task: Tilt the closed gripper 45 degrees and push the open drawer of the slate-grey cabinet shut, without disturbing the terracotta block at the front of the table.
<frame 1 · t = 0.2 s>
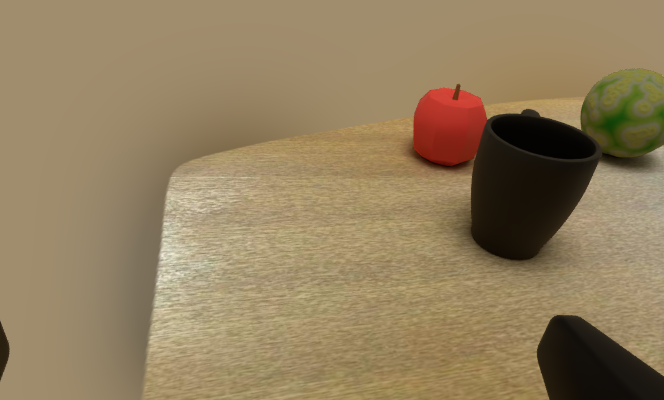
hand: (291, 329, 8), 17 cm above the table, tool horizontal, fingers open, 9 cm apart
decorative ball: (610, 154, 58), on the table
apple: (440, 157, 52), on the table
mug: (504, 228, 42), on the table
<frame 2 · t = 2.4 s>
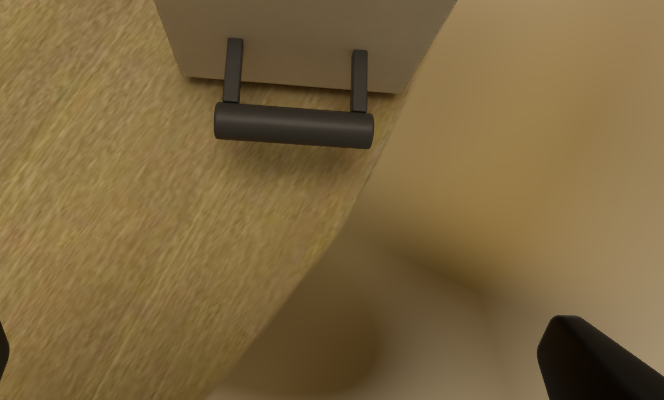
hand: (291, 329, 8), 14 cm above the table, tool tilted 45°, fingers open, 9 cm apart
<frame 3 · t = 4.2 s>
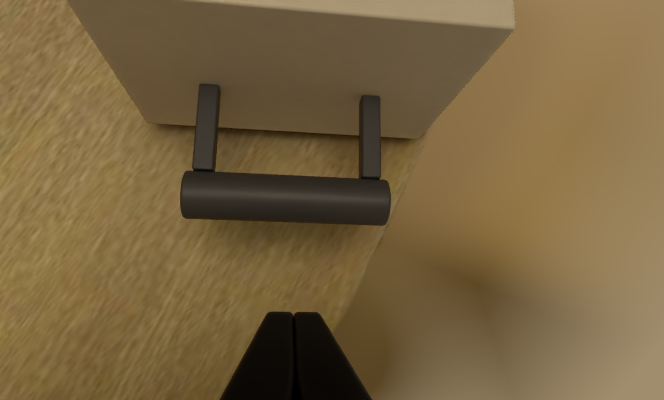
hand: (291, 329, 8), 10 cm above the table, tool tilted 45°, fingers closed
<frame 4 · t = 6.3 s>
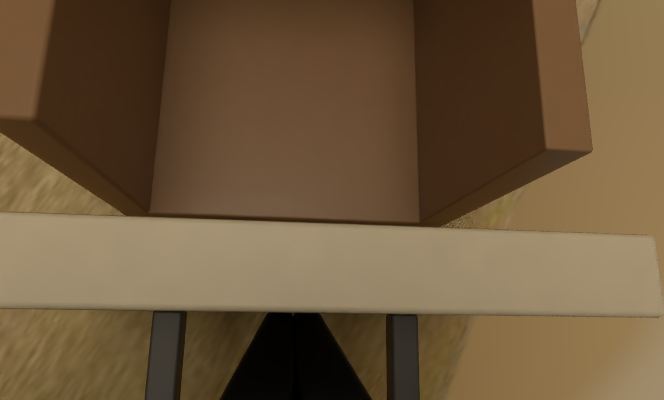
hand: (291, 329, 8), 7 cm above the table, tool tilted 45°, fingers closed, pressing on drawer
drawer: (299, 24, 11), point 5 cm above the table, slide at 7.9 cm, touching gripper
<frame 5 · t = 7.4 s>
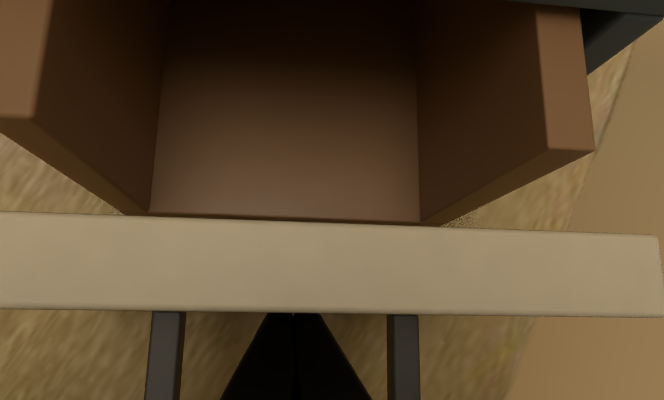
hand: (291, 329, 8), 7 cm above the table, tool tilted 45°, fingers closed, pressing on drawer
drawer: (299, 22, 11), point 5 cm above the table, slide at 3.5 cm, touching gripper
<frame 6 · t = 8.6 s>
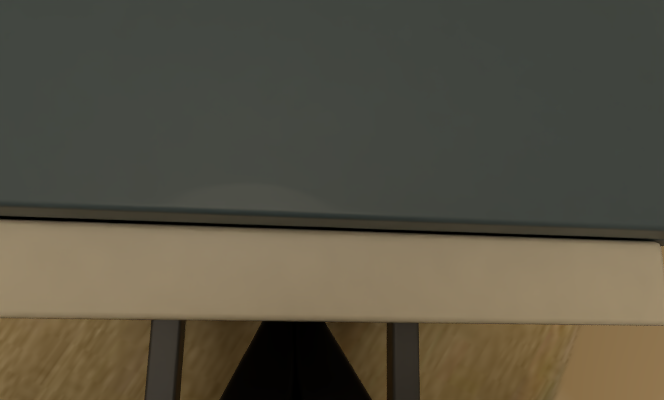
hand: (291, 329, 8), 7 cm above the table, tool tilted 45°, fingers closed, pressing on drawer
drawer: (300, 17, 11), point 5 cm above the table, slide at 0.0 cm, touching cabinet, gripper
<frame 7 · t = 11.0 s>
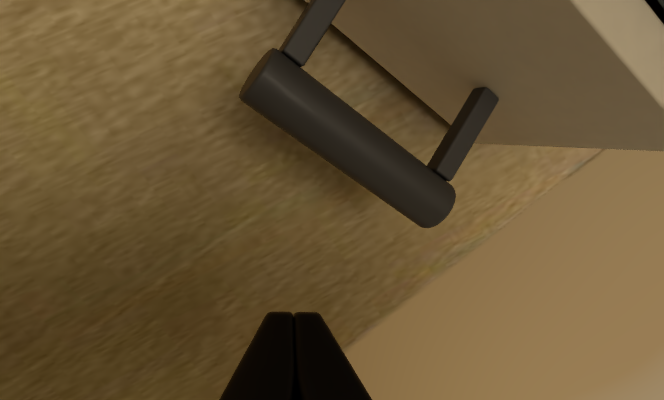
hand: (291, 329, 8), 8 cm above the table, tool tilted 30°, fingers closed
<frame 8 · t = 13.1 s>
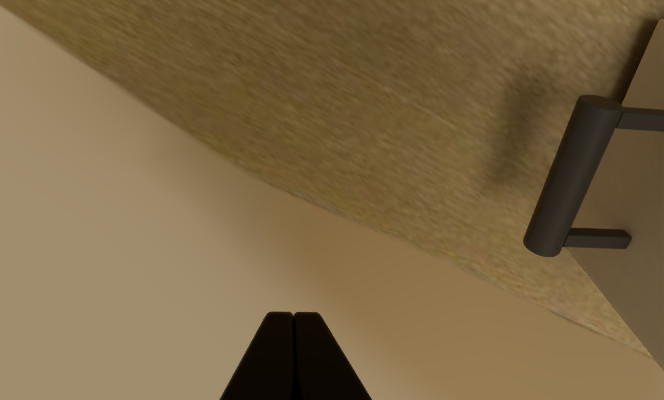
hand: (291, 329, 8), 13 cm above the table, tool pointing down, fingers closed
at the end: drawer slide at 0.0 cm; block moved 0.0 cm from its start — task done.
